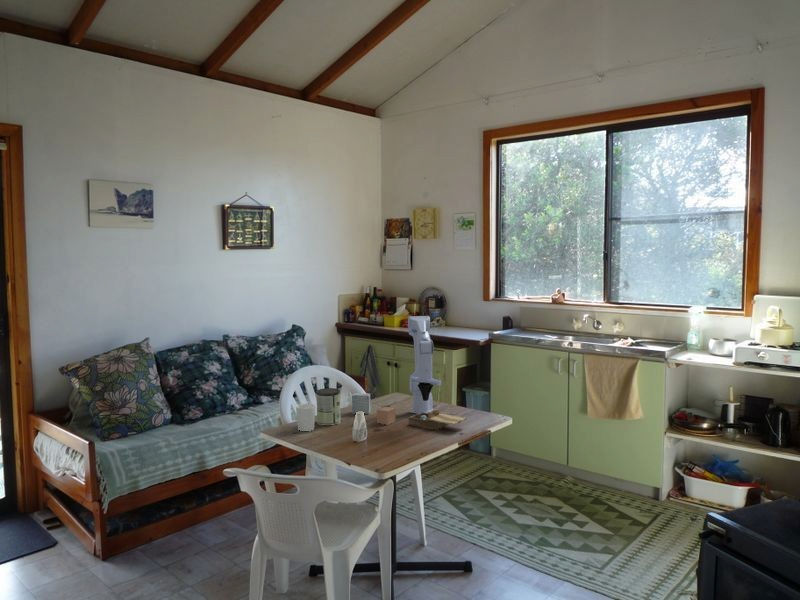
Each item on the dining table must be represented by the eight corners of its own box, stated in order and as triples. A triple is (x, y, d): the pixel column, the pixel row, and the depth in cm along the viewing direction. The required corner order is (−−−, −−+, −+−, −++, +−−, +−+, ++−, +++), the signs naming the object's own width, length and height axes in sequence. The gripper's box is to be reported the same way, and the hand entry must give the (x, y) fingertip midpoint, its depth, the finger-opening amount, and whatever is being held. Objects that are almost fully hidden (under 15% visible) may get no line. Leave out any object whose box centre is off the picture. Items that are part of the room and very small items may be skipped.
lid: (438, 414, 266) (438, 407, 265) (466, 419, 258) (466, 412, 257) (425, 419, 258) (425, 412, 257) (454, 425, 249) (454, 417, 249)
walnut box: (421, 419, 271) (421, 412, 271) (449, 424, 263) (449, 416, 263) (408, 424, 263) (408, 417, 263) (436, 430, 255) (436, 422, 254)
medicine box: (370, 411, 285) (370, 393, 284) (369, 414, 280) (368, 395, 279) (353, 411, 285) (353, 393, 285) (352, 414, 281) (351, 395, 280)
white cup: (319, 429, 258) (319, 405, 257) (304, 433, 252) (303, 409, 251) (307, 425, 263) (307, 402, 262) (292, 429, 258) (292, 406, 257)
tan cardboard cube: (384, 420, 270) (384, 406, 270) (395, 422, 267) (395, 408, 267) (377, 423, 266) (376, 409, 265) (387, 425, 263) (387, 411, 262)
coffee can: (318, 419, 273) (317, 388, 271) (341, 419, 273) (340, 387, 272) (315, 426, 262) (314, 393, 261) (340, 425, 263) (339, 393, 262)
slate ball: (422, 420, 269) (422, 413, 269) (428, 421, 267) (428, 414, 267) (418, 422, 266) (418, 415, 266) (424, 423, 265) (424, 416, 264)
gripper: (406, 368, 263) (406, 399, 264) (435, 372, 254) (435, 404, 255) (415, 365, 268) (415, 396, 269) (443, 369, 260) (444, 401, 261)
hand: (425, 400), depth 263 cm, fingers closed
